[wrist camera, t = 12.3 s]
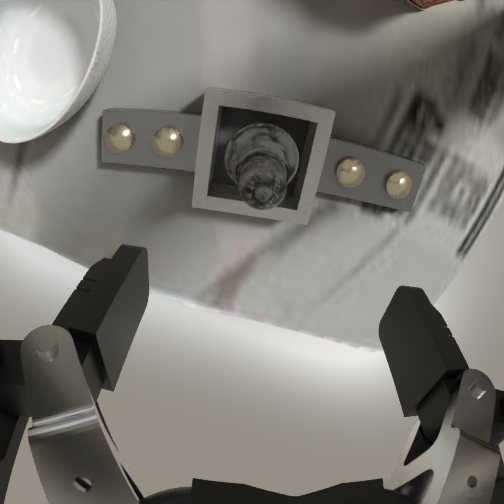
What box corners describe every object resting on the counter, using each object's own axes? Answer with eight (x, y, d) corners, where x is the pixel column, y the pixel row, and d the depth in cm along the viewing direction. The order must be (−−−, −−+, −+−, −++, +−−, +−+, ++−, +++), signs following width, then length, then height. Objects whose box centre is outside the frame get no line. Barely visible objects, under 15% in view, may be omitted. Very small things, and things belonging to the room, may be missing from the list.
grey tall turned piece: (229, 115, 25) (209, 142, 15) (297, 120, 25) (325, 151, 15) (227, 178, 28) (208, 243, 18) (290, 182, 28) (309, 250, 18)
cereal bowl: (76, 156, 27) (37, 180, 21) (-12, 86, 21) (-54, 98, 15) (173, 12, 20) (147, -6, 14) (61, -44, 14) (22, -58, 8)
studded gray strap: (426, 138, 25) (444, 147, 22) (396, 227, 30) (409, 244, 27) (111, 82, 23) (94, 84, 20) (108, 181, 28) (92, 194, 25)
